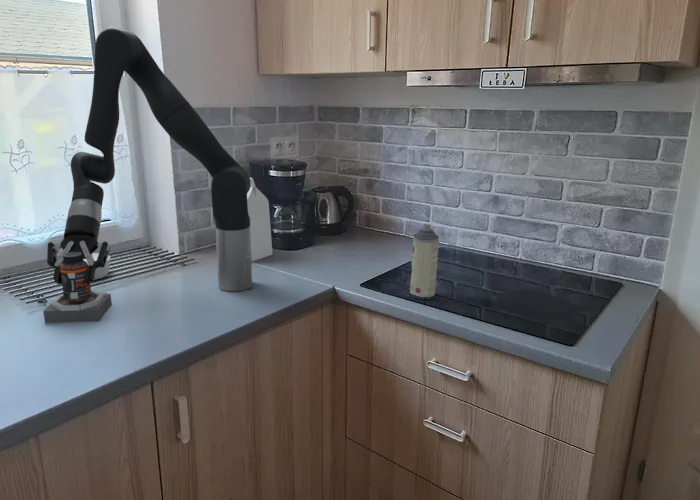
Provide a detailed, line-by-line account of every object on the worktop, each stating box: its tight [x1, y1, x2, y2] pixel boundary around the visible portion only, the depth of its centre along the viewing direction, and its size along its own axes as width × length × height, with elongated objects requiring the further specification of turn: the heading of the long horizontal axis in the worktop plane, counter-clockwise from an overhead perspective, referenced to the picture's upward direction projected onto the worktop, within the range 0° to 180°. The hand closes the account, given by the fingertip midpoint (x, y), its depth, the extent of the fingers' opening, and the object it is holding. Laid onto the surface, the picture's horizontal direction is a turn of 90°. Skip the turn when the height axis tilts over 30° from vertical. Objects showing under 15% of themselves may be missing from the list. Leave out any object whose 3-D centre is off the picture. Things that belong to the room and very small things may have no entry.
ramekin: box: [83, 252, 112, 280], centre depth 153 cm, size 11×11×5 cm
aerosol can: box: [409, 223, 440, 297], centre depth 142 cm, size 7×7×20 cm
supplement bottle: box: [60, 252, 92, 302], centre depth 126 cm, size 6×6×11 cm
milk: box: [247, 177, 273, 262], centre depth 172 cm, size 12×12×26 cm
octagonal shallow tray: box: [42, 289, 113, 324], centre depth 128 cm, size 12×10×4 cm
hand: (73, 282), depth 124 cm, fingers closed on supplement bottle, 6 cm apart
